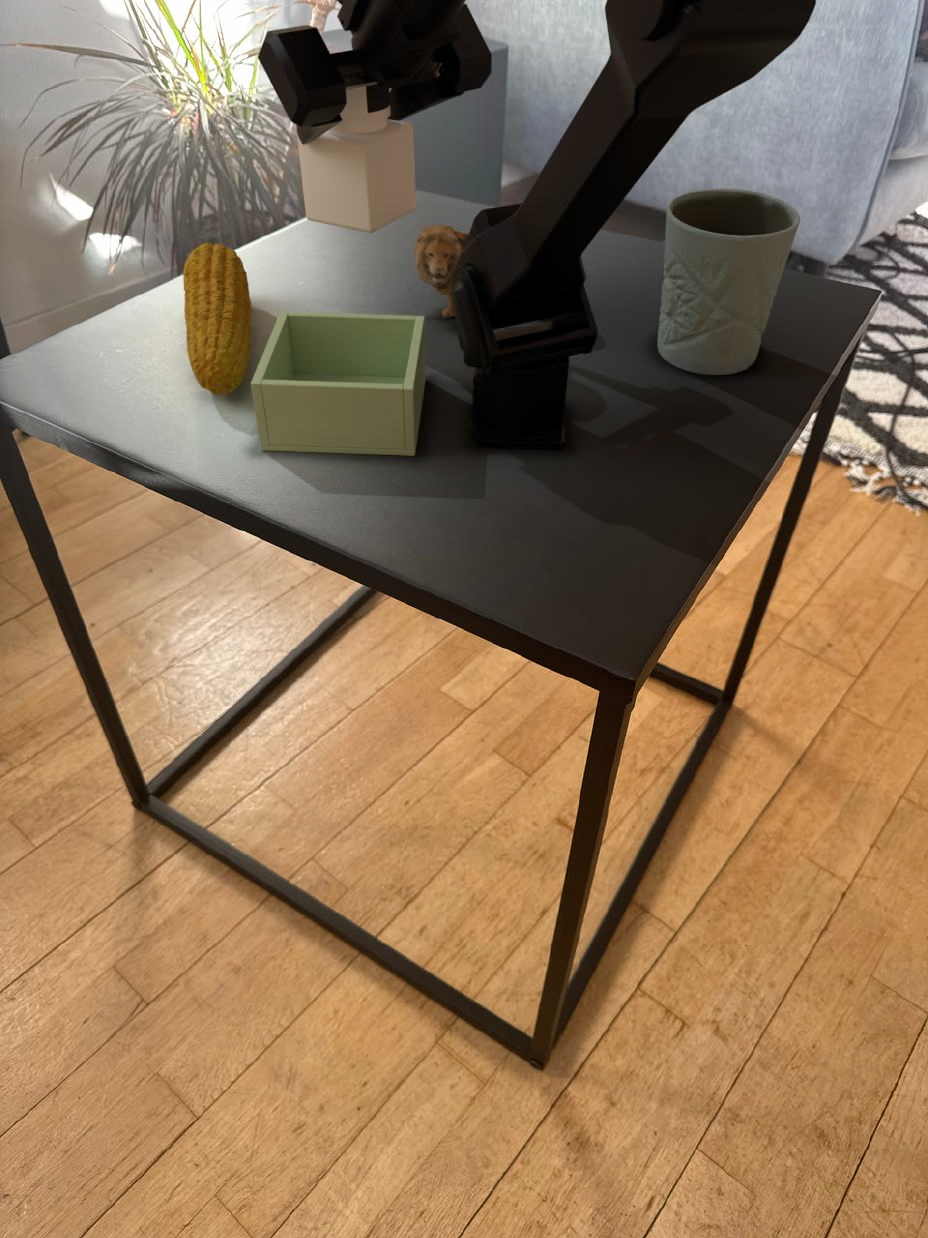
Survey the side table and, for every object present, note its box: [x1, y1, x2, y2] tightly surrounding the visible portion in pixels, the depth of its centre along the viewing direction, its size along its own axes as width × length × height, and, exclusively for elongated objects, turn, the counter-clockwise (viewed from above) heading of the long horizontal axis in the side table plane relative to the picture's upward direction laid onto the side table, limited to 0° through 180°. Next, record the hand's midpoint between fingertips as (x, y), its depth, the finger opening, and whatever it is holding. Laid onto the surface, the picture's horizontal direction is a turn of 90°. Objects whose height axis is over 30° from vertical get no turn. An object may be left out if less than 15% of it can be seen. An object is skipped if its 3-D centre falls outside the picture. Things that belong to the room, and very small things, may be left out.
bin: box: [250, 310, 427, 457], centre depth 72 cm, size 11×11×6 cm
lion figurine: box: [413, 224, 469, 319], centre depth 83 cm, size 15×5×9 cm, turn 116°
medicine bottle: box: [296, 84, 417, 234], centre depth 79 cm, size 7×7×12 cm
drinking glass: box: [657, 188, 801, 376], centre depth 78 cm, size 10×10×12 cm
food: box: [182, 242, 253, 396], centre depth 79 cm, size 21×6×6 cm, turn 13°
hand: (344, 129), depth 79 cm, fingers closed on medicine bottle, 8 cm apart
